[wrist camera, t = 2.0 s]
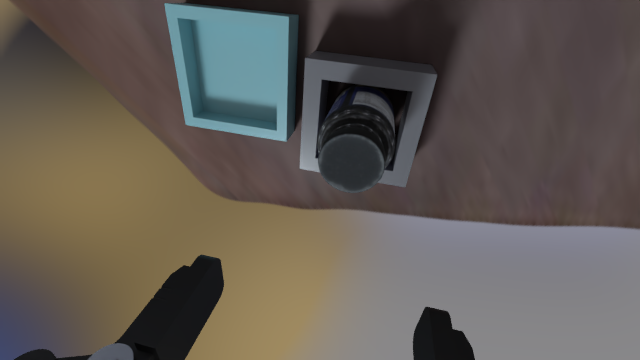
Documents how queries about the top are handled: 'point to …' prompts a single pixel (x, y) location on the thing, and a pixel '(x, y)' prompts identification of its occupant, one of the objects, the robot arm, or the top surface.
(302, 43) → the top surface
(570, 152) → the top surface
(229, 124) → the tray
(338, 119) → the pill bottle
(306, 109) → the holder
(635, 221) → the top surface
